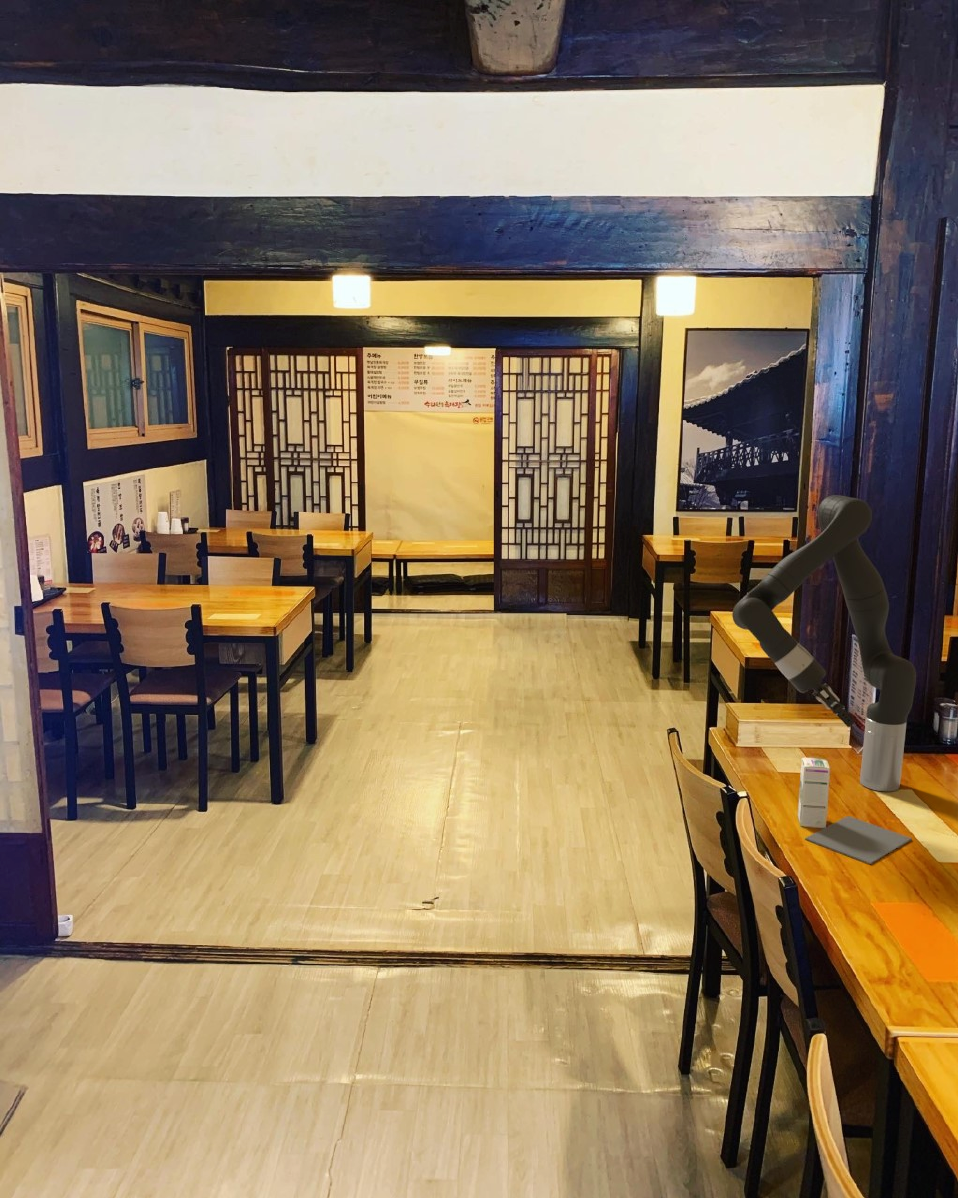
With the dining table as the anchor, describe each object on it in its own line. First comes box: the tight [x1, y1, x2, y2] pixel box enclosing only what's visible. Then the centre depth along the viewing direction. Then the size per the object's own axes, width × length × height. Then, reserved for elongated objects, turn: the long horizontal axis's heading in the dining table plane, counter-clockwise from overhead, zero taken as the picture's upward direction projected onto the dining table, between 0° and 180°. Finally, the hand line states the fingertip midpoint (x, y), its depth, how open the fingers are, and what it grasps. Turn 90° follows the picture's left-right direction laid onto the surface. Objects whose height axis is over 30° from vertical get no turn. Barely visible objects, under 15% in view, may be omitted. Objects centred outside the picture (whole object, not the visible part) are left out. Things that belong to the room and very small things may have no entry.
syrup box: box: [797, 757, 831, 829], centre depth 223 cm, size 6×6×14 cm
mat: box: [804, 815, 913, 865], centre depth 216 cm, size 18×15×1 cm
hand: (849, 721), depth 225 cm, fingers open, 8 cm apart
